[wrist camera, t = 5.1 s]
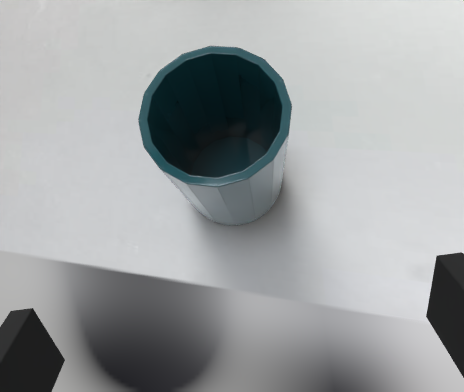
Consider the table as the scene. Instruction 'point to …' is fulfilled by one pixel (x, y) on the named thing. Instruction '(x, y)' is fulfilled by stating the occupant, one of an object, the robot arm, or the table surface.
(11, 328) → the robot arm
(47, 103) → the table surface
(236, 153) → the cup
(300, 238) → the table surface
